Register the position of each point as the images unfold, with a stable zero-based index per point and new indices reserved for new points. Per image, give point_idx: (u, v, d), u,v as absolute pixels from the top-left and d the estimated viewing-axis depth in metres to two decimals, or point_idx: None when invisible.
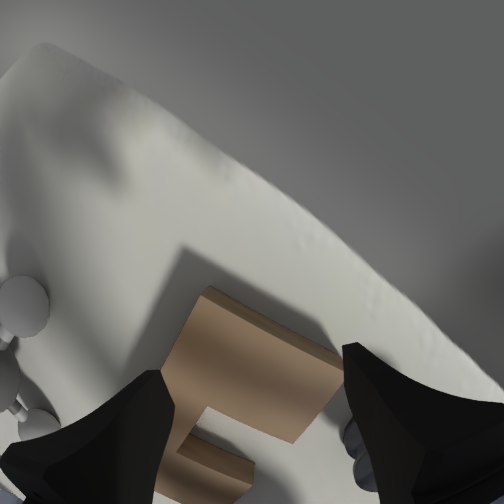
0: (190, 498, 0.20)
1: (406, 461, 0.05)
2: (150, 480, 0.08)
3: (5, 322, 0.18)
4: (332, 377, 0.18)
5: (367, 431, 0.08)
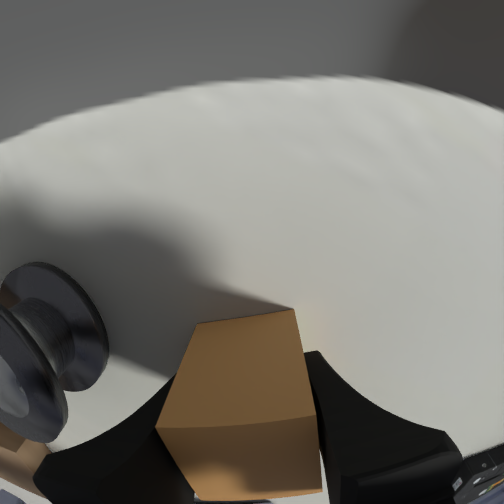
0: (29, 485, 0.14)
1: (335, 480, 0.05)
2: None
3: None
4: None
5: (320, 441, 0.08)
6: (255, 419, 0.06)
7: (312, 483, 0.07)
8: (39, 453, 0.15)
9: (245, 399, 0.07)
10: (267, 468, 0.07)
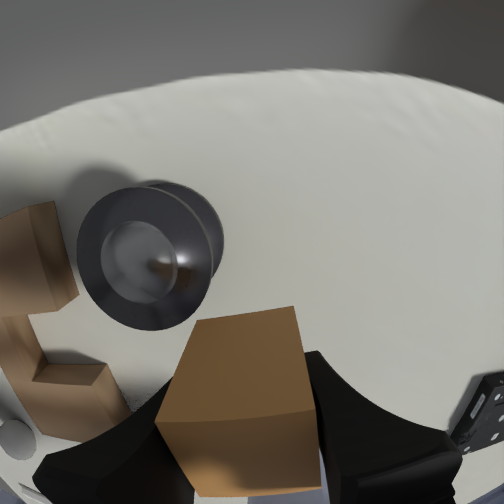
0: (89, 433, 0.20)
1: (335, 480, 0.05)
2: None
3: None
4: (21, 221, 0.15)
5: (320, 441, 0.08)
6: (254, 414, 0.07)
7: (312, 480, 0.07)
8: (110, 389, 0.20)
9: (245, 394, 0.07)
10: (266, 463, 0.07)
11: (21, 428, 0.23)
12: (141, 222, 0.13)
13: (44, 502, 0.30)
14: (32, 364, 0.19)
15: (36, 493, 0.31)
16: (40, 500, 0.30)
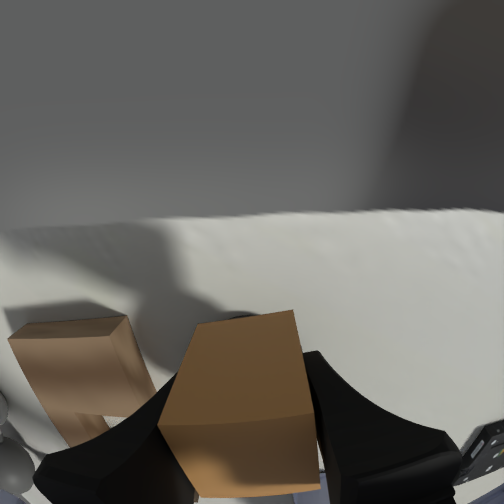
0: None
1: (335, 480, 0.05)
2: (191, 483, 0.08)
3: None
4: (101, 346, 0.17)
5: (320, 441, 0.08)
6: (254, 417, 0.07)
7: (311, 481, 0.07)
8: None
9: (245, 398, 0.07)
10: (266, 465, 0.07)
11: None
12: None
13: None
14: None
15: None
16: None
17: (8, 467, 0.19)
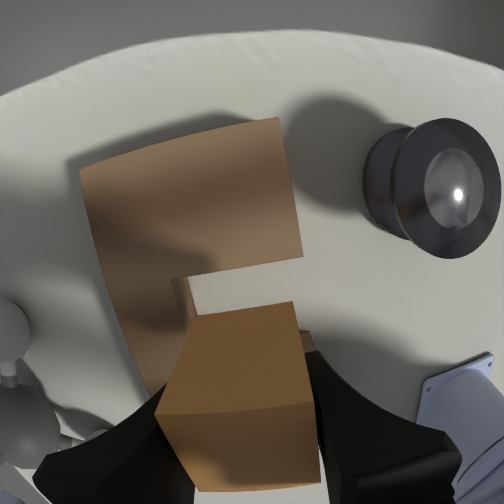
0: None
1: (335, 480, 0.05)
2: (191, 483, 0.08)
3: None
4: (262, 134, 0.14)
5: (320, 441, 0.08)
6: (253, 405, 0.07)
7: (311, 474, 0.07)
8: None
9: (243, 386, 0.07)
10: (265, 457, 0.07)
11: None
12: (462, 151, 0.12)
13: None
14: None
15: None
16: None
17: (23, 423, 0.16)
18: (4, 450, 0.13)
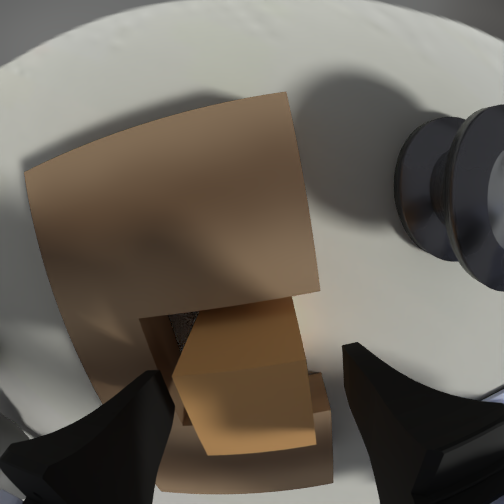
0: (273, 479, 0.14)
1: (406, 461, 0.05)
2: (150, 480, 0.08)
3: None
4: (263, 115, 0.09)
5: (367, 431, 0.08)
6: (255, 364, 0.08)
7: (307, 434, 0.09)
8: None
9: (247, 351, 0.09)
10: (266, 415, 0.09)
11: None
12: None
13: None
14: None
15: None
16: None
17: None
18: None
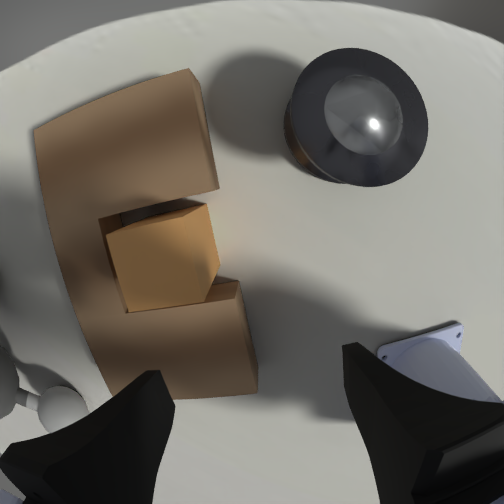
0: (201, 380, 0.19)
1: (406, 461, 0.05)
2: (150, 480, 0.08)
3: None
4: (174, 83, 0.14)
5: (367, 431, 0.08)
6: (154, 223, 0.13)
7: (194, 289, 0.14)
8: (243, 312, 0.19)
9: (154, 221, 0.14)
10: (163, 266, 0.14)
11: (72, 395, 0.22)
12: (371, 78, 0.12)
13: None
14: None
15: None
16: None
17: None
18: None
